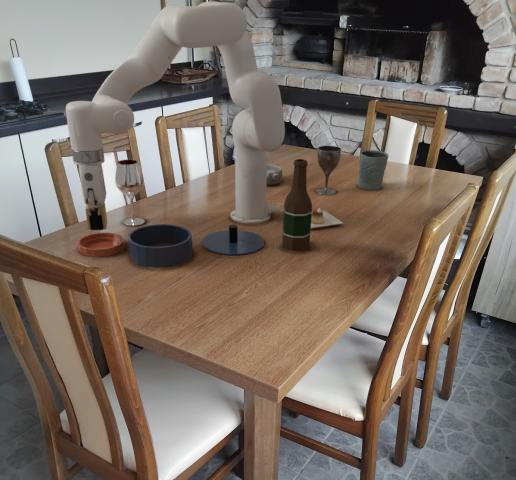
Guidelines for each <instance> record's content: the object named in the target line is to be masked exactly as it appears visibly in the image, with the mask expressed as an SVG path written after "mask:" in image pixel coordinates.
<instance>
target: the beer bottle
mask: <svg viewBox="0 0 516 480" xmlns="http://www.w3.org/2000/svg"><path fill="white" fill-rule="evenodd" d="M308 166H309V164H308V161H307V159H304V158H297V159H294V161H293V167H294V168H293V175H292V184H291V189H290V191H289V193H288V194H287V195H286V197H285V200H284V204H283V218H282V235H281V236H282V237H281V238H282V239H281V241H282V248H283V249H284V250H287V251H291V252H304V251H306V250H308V249H310V241H311V230H312V229H311V217H312V212H313V203H312V200H311V197H310V195H309V194H308V189H307V171H308V170H307V169H308V168H307V167H308Z"/></svg>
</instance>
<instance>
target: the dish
mask: <svg viewBox="0 0 516 480" xmlns="http://www.w3.org/2000/svg"><path fill="white" fill-rule="evenodd" d="M77 249H78V252H79V253H80V254H81V255H84V256H86V257H92V258H105V257H109V256H114V255H117V254H119V253H121V252H122V251H123V250H125V238H124V237H123V236H122V235H121V234H119V233H114V232H95V233H89V234H86V235H84V236H82V237H80V238H79V239H78V240H77Z"/></svg>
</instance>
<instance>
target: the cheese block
mask: <svg viewBox="0 0 516 480" xmlns="http://www.w3.org/2000/svg"><path fill="white" fill-rule="evenodd" d="M99 204H100V215H102V221H103V230H107V227H108V216H107V209H106V208H107V207H106V202H104V204H101V203H99ZM85 205H86V204H85ZM95 207H96V208H97V206H95ZM84 210H85V216H86V217H85V218H86V223H87V230H90V231H92V230H91V227H90V221H89V210H88V204H87V205H86V206H85V209H84Z"/></svg>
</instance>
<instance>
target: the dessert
mask: <svg viewBox="0 0 516 480" xmlns="http://www.w3.org/2000/svg"><path fill="white" fill-rule="evenodd" d="M342 224H344V222H343V221H341V220H340V219H339V218H337V217H335V216H333V215H332V214H330V213H329V212H328V211H326V210H322V209H321V208H320V207H318V208H317V209H314V210H312V217H311V230H314V229H321V228H328V227H334V226H335V227H336V226H339V225H342Z"/></svg>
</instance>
